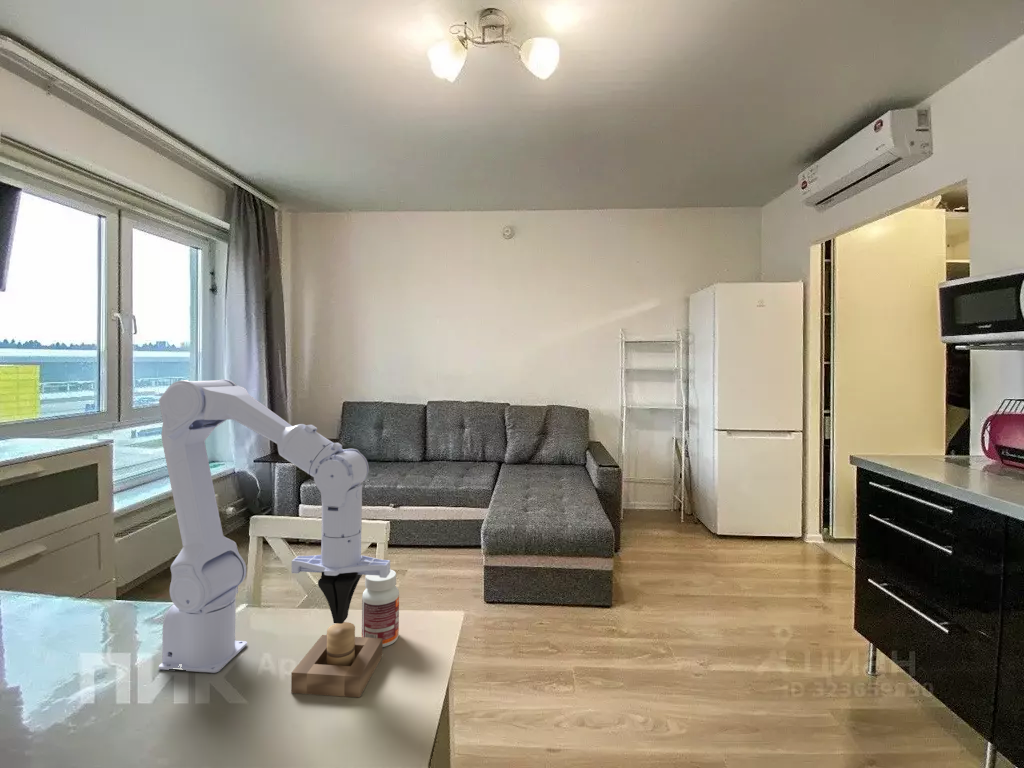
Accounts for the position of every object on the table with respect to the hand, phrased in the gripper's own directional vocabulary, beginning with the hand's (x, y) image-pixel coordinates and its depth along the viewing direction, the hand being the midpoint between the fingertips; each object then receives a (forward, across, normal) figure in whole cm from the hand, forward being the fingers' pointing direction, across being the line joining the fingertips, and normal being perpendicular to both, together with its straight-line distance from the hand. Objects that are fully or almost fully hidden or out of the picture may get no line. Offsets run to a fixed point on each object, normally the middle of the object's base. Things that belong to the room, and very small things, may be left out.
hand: (340, 620), depth 75 cm
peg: (+8, 0, 0) cm, 8 cm away
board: (+8, 0, 0) cm, 8 cm away
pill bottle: (+8, +3, +10) cm, 13 cm away
